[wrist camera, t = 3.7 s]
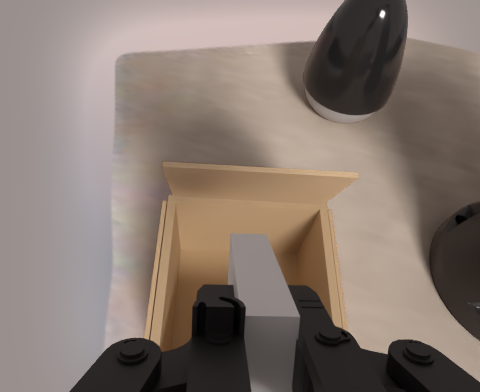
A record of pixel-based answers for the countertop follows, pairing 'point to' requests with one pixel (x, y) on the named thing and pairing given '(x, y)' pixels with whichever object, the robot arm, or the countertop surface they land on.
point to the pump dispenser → (357, 59)
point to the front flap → (254, 183)
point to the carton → (217, 256)
